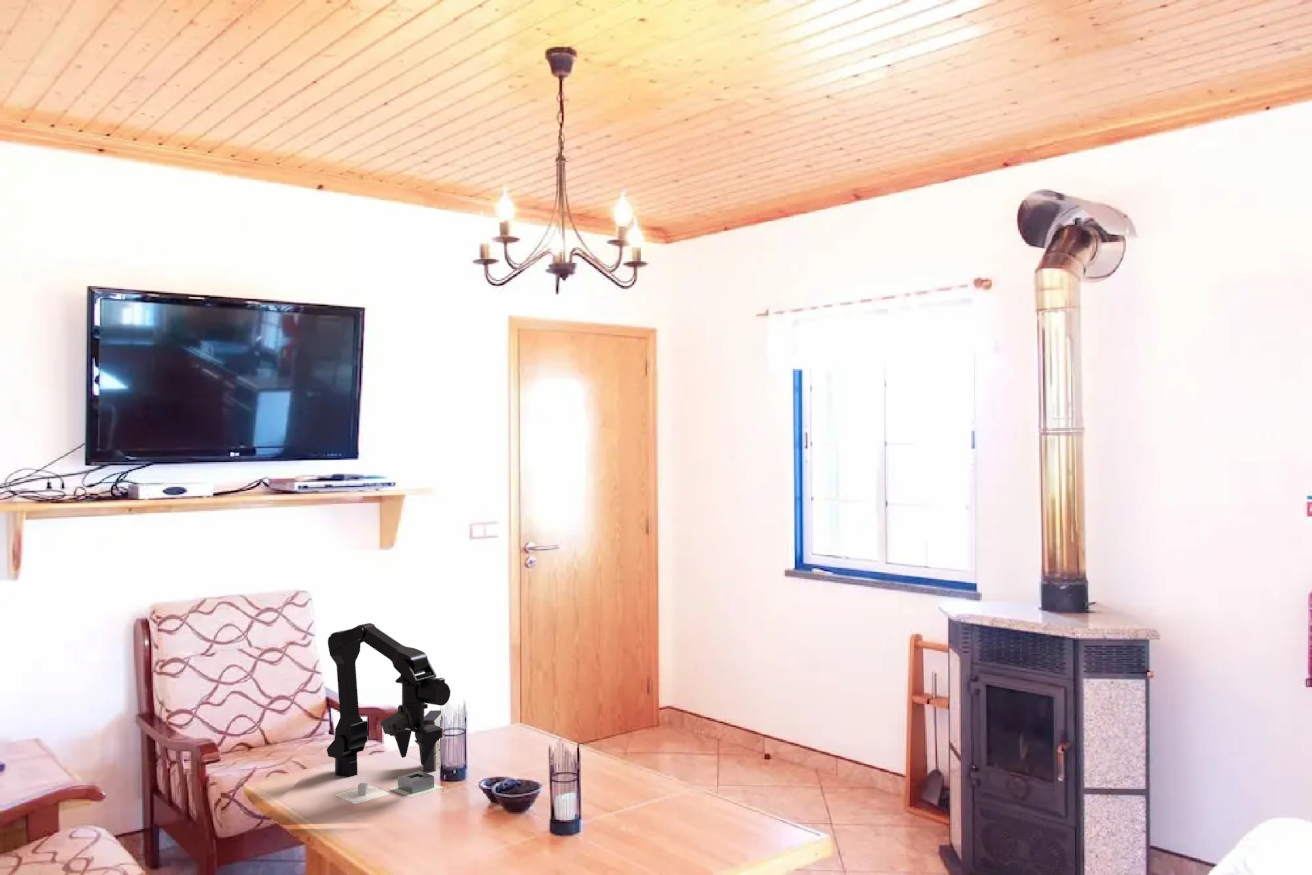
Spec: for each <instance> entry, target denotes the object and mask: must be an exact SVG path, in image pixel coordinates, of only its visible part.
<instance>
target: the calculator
mask: <svg viewBox="0 0 1312 875" xmlns="http://www.w3.org/2000/svg"><path fill="white" fill-rule="evenodd" d="M424 719H426V720H428V724H425V725H423V726H427V725H432V724H433V725H436V726H439V727H440V720H441V710H439V709H438V710H437V709H436V710H429V711H428V712H427V713H426V715H424ZM439 767H440V741H439V740H437V742H436V744H435V745H434V747H433V749H432V751H431V753H430V755H429V757H428V760H427V762H426V764H425V765H422V772H424V773H432V772H433V773H434V772H436V771H438V770H440V768H441V767H440V768H439Z"/></svg>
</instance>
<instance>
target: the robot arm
mask: <svg viewBox="0 0 1312 875" xmlns="http://www.w3.org/2000/svg"><path fill="white" fill-rule="evenodd" d="M362 643H365V644H366V645H368V646H369V647H371V648H372V649H373V650H375V651H376V652H378V653H380V654H381V655H382V656H383V657H386V658H387V659H389V660H390V661H391V663H392V666H393V668H394V669H395V671H397V673H399V674H400V675H399V677H397V678H396V679H395V683H396V684H401V704H398V706H397V712H396V713H393V714H391V715H390V716H388V717H386V718H385V719H383V720H382V721H381V722H380V725H381V727H382V729H383V733H384V735H389V736H390V737H393V738H394V739H395V741H396V745H397V748H398V751H399V755H400V757H401V758H406V756H407V753H408V749H409V745H410V742H411V741H410V740H411V737H412V736H411V735H412V732H413V733H414V737H415V740H414V742H415V743H416V745H418V747H419V748H418V749H419V760H420V764H421V766H423V765H425V764H426V762H427V760H428V757H429V755H430V753H431V751H432V749H433V747H434V745H435V744H436V742H437V740H439V739H440V738H442V737H443V729H442V728H441V727H439V726H436V725H433V724H432V725H427V726H423V725H425V724H428V720H426V719H424V717H425V710H426V709H428V707H429V705H436V706H440V707H441V706H445V705H446V704H447V703H448V702H449V699H450V696H451V689H450V686H449V684H448V683H446V681H445V680H446V679H445V677H437V673H436V672H435V670H434V668H433V665H432V664H431V662H430V660H429V658H428V655H427V653H425V652H424V651H422V650H419V649H417V648H414V647H410V646H405V645H403V644H402V643H400V642H399V641H398V640H395V639H394V638H392V637H391V636H389V635H388V634H387V633H385V632H384V631H382V630H381V629H379V628H378V627H376V625H375V624H374V623H371V622H367V623H363V624H357V626H355V627H353V628H350V629H345V630H339V631H335V632H332V633H330V636H329V637H328V638H327V647H328V648H327V649H328V652H329V656H330V657H331V659H332V660H333V662H334V663H335V666H336V678H337V679H336V680H337V692H338V694H337V695H338V705H339V706H338V707H339V720H338V722H337V725H336V726H335V728H334V739H333V740H332V742H331V743H330V744H329V745H328V747H327V748H326V753H327V757H329V758H334V775H335V776H337V777H345V778H351V777H356V776H358V753H361V752H363V751H364V749H365V746H366V744H367V742H368V738H369V736H370V733H369V722H368V721H367V720H363V718H362V716H361V715H360V712H359V711H360V709H359V707H360V706H359V694H358V680H357V667H356V662H357V658H358V657H359V655H360V653H361V644H362ZM428 704H429V705H428Z"/></svg>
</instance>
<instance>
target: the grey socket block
mask: <svg viewBox="0 0 1312 875" xmlns="http://www.w3.org/2000/svg"><path fill="white" fill-rule="evenodd" d="M414 777H420V778H417V779H412V778H414ZM434 784H435V776H434V775H432V774H430V773H428V772H423V770H417V771H415V772H411V773H407V774H403V775H398V776H397V786H398V789H401V790H403V791H406V792H408V793H411V794H414V793H418V792H421V791H424V790H428V789H431V788H434Z"/></svg>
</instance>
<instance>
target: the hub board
mask: <svg viewBox="0 0 1312 875" xmlns="http://www.w3.org/2000/svg"><path fill="white" fill-rule="evenodd" d="M417 778H420V777H414V778H412V779H417ZM443 788H444V786H442V785H438V784H436V783H434V788H431V789H428V790H424V791H421V792H418V793H414V794H411V793H408V792H406V791H403V790H401V789H398V785H397V786H393V787H390V788H388V789H389V790H391V791H393V792H396V793H399V794H402V795H404V796H407V797H408V798H414V797H416V796H420V795H424V794H427V793H430V792H431V793H432V792H434V791H437V790H440V789H443ZM442 791H443V792H445V790H444V789H443V790H442Z"/></svg>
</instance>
